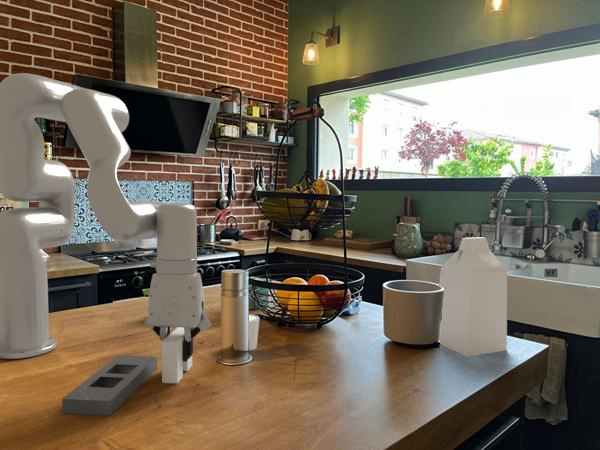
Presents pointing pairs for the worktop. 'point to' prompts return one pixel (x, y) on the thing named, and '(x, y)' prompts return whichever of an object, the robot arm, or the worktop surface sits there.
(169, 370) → the clip
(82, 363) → the worktop surface
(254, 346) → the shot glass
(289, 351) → the worktop surface
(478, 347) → the milk
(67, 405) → the grey slotted base
